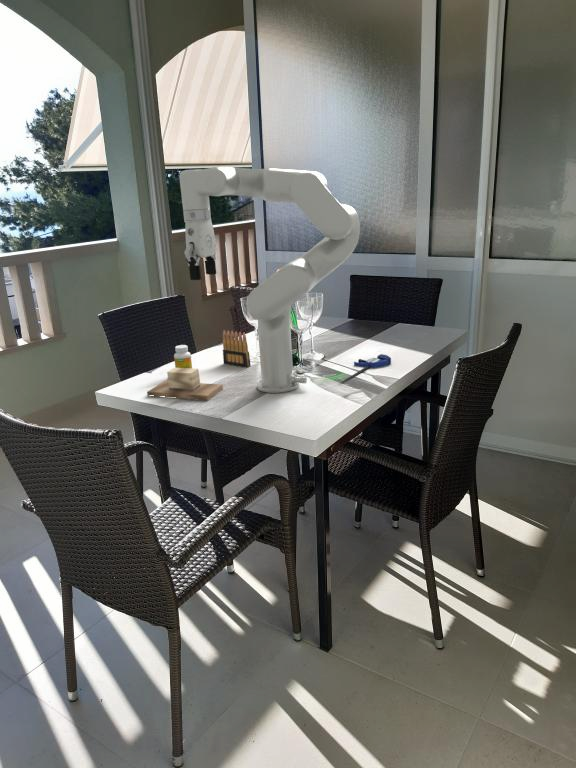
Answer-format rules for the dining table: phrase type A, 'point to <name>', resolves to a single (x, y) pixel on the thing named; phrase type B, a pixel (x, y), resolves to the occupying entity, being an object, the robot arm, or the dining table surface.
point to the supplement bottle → (182, 357)
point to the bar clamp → (371, 364)
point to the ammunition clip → (235, 350)
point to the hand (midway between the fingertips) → (203, 276)
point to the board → (200, 393)
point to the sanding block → (183, 379)
